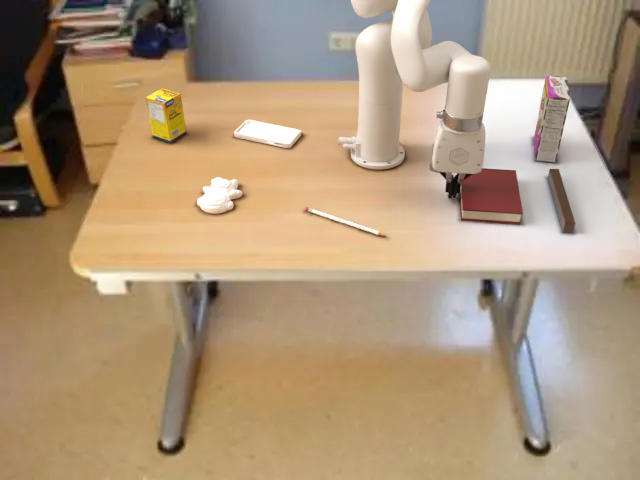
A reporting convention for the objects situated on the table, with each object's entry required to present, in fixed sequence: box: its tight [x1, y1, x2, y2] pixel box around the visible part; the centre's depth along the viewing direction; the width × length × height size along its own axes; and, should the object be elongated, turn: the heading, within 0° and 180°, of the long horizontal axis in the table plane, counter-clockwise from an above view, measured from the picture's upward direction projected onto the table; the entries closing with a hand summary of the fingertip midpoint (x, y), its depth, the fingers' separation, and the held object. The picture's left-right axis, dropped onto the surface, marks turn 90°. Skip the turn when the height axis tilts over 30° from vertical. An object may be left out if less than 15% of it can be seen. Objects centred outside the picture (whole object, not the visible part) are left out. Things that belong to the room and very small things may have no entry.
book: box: [459, 167, 524, 226], centre depth 150 cm, size 12×16×3 cm
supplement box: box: [145, 87, 187, 144], centre depth 170 cm, size 6×6×11 cm
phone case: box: [233, 119, 302, 149], centre depth 173 cm, size 7×1×15 cm
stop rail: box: [547, 168, 576, 234], centre depth 149 cm, size 2×20×2 cm, turn 174°
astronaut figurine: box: [196, 176, 243, 215], centre depth 151 cm, size 9×12×3 cm
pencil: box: [305, 206, 387, 237], centre depth 144 cm, size 1×19×1 cm, turn 60°
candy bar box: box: [533, 75, 571, 164], centre depth 162 cm, size 11×5×16 cm, turn 168°
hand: (451, 194), depth 151 cm, fingers closed
